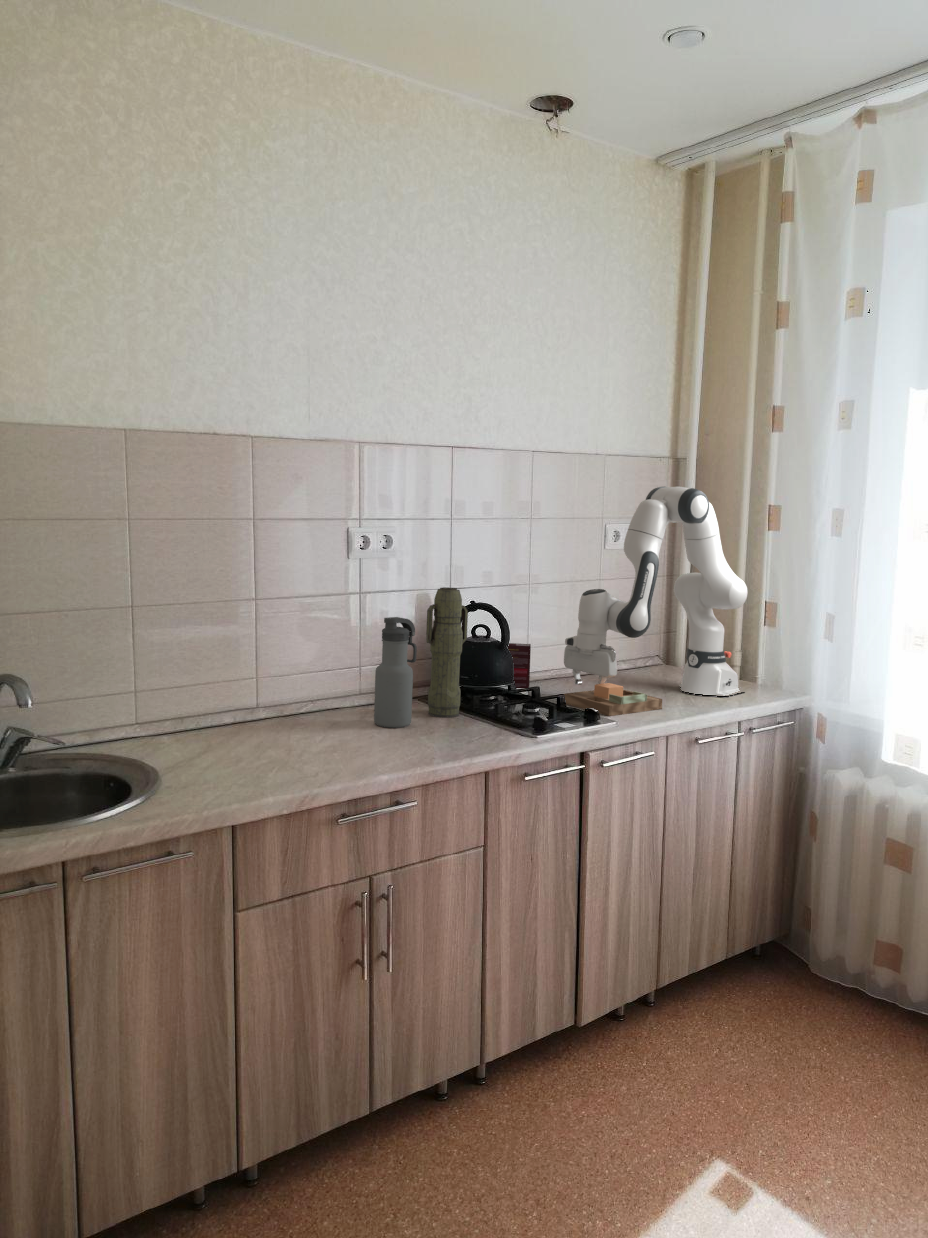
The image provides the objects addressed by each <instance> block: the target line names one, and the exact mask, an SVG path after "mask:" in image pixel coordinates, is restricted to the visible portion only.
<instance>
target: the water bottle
mask: <svg viewBox="0 0 928 1238" xmlns="http://www.w3.org/2000/svg"><path fill="white" fill-rule="evenodd" d="M383 620H384V621H383V623H384V624H385V625H384V628H382V630H381V642H382V650H381V651H382V654H381V663H380V664H378V666H376V668H375V673H374V674H375V679H374V707H373V708H374V709H373V710H374V711H373V722H374V724H375V725H377V726H378V727H382V728H388V729H401V728H407V727H408V726H410V725H411V724H412V717H413V716H412V713H413V683H414V671H413V668H412V667H411V666H410V665H409V664H408V663H413V664H414V663H416V662H417V656H418V655H417V649H418V647H417V644H416V643H415V642H413V637H415V635H416V628H415V624H414V623H413V621H412V620H410V619H408V618H404V617H398V616H392V617H391V616H389V617H384V618H383ZM397 624H401V626H398V625H397ZM408 646H412V649H413V654H412V659H408V652H409V651H408V649H409V647H408Z"/></svg>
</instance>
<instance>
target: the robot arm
mask: <svg viewBox="0 0 928 1238" xmlns="http://www.w3.org/2000/svg"><path fill="white" fill-rule="evenodd" d="M670 523H672V524H673V523H674V524H675V523H681V525H682V533H683V539H684V546H685V547H684V548H685V553H686V558H687V561H688V562H689V563H690V564H691V565H692V566H693V567H694V568H696V569H697V570H698V572H688V573H683V574H681V575H679V576H678V577H677V579H676V580H675V582H674V585H673V594H674V596H675V599H676V600H677V601H678V602H679V603H680V604H681V606H682V607H683V610H684V612H685V614H686V617H687V621H688V647H687V648H686V654H685V655H686V658H685V659H686V660H687V661H686V663H684V668H683V673H682V674H683V675H682V678H681V683H679V686H681V688H680V689H681V690H683V691H685V692H689V693H694V694H693V695H695V694H703V695H723V696H725V695H729V694H732V693H735V692H738V691H740V690H739V688H738V687H739V675H738V673H737V672H736V671H735V669H733V668H732V667H731V666H730V665H729V664H728V663H727V660H726V659H728V658H729V659H730V658H731V657H732V652H731V651H726V650H724V643H725V642H724V641H725V626H724V625H723V623H722V622H720V620H718V619H717V617H716V616H715V614H714V610H713V609H716V610H735V609H740V608H741V607H742V606H743V605H744V604H745V603H746V601H747V598H748V592H749V591H748V587H747V584H746V582H745V581H744V580H742V578H741V577H739V576H738V575H737V574H736V573H735V572H734V571H733V569H732V568H731V567H730V565H729V563H728V562H727V559H726V557H725V555H724V551H723V546H722V541H721V539H722V538H721V533H720V528H719V522H718V519H717V515H716V512H715V509H714V507H713V504H712V503H711V502H710V501H709V499H708V496H707V495H706V493H705V492H703V491H702V490H700V489H698V488H695V487H694V488H693V487H692V488H690V487H685V486H678V485H677V486H657V487H655V488H653V489H652V490H650V491H649V492H648V494H647V495H646V496H645V500H642V501H641V502H639V504H638V506H637V507H636V509H635V511H634V513H633V516H632V518H631V519H630V523H629V525H628V528H627V531H626V535H625V538H624V542H623V552H624V554H625V556H626V558H627V559H628V560H629V561H630V563H631V564H632V565H633V567H634V571H635V572H634V573H635V577H634V581H633V586H632V590H631V593H630V598H629V599H628V601H624V600H621V599H619V598H617V597H615V596H614V595H611V594H610V593H609V592H608V591H607V590H606V589H603V588H595V589H588V590H585V591H584V592H583V593H582V594H581V597H580V599H579V604H578V613H577V614H578V615H577V618H578V628H577V631H576V632H577V633H576V635H575V636H570V637H567V638H565V641H564V643H565V645H566V646H565V648H564V652H563V664H564V667H565V668H566V669H570V670H572V675H573V678H574V684H575V685H576V686H577V685H578V686H580V685H581V686H582V684H583V679H582V678H581V673H582V672H583V673H586V674H590V675H595V676H597V677H598V679H599V681H598V683H597V684H604V683H607V680H608V678H615V677H616V676H617V674H618V661H617V652H616V650H615V649H614V647H613V646H608V645H607V631H609V630H610V631H614V632H616V633H619V634H620V635H621V634H622V635H623V636H626V637H628V638H631V639H637V638H640V637H641V636H643V635H644V634H645V633H646V632H647V631H648V630H649V628H650V626H651V621H652V615H651V612H652V611H651V609H652V608H651V606H652V601H653V600H652V599H653V596H654V591H655V587H656V583H657V578H658V573H659V566H660V559H659V556H660V551H661V547H662V544H663V541H664V537H665V533H666V529H667V527H668V525H669V524H670ZM681 690H680V691H681ZM685 692H684V693H685ZM689 693H688V694H689Z"/></svg>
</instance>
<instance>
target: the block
mask: <svg viewBox="0 0 928 1238" xmlns="http://www.w3.org/2000/svg"><path fill="white" fill-rule="evenodd" d="M623 689H624V686H623V685H619V684H615V683H611V682H608V683H607V682H605V683H604V684H598V683H596V684H594V695H596V696H600V697H603V698H607V699H609V694H613V695H617V696H621V697H623Z"/></svg>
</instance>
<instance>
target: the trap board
mask: <svg viewBox="0 0 928 1238" xmlns="http://www.w3.org/2000/svg"><path fill="white" fill-rule="evenodd" d="M564 695H565V700H566V704H565V705H568V706H572V707H574V708H579V709H582V710H585V709H586V708H594V709H596V710H598V711H599V713H600V714H599V713H598V714H599V715H603V716H607V717H612V716H613V717H614V716H620V715H627V714H628V715H629V714H637V713H643V712H649V711H657V710H658V711H659V710H662V709H663V698H659V697H656V696H651V695H648V694H647V693H643V692H639V691H635V690H634V691H632V690H628V689H624V688H623V697H621V696H617V695H613V694H609V699H607V698H603V697H600V696H596V695H594V690H583V691H575V692H567V693H566V692H565V693H564V694H563V696H564Z"/></svg>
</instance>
